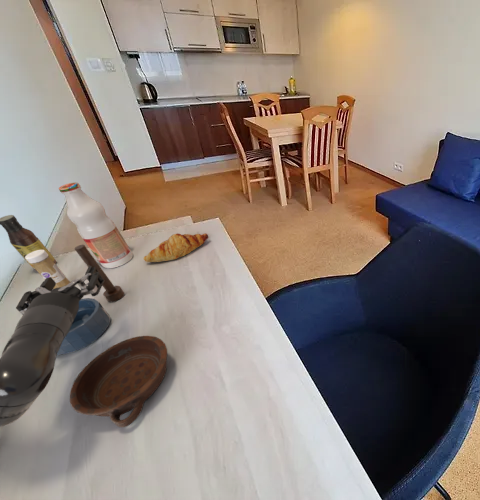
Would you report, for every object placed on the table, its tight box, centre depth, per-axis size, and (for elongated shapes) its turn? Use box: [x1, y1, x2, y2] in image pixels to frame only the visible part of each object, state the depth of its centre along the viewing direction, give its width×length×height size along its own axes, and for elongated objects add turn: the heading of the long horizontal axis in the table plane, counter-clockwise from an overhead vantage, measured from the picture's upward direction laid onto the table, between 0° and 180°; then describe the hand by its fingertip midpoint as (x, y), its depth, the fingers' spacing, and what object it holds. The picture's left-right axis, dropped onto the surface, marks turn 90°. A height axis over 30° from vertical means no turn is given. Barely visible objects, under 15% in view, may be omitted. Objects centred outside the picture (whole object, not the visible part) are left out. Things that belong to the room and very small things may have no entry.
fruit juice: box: [58, 181, 134, 269], centre depth 97 cm, size 9×9×28 cm
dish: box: [69, 335, 168, 428], centre depth 63 cm, size 18×22×5 cm
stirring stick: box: [74, 244, 126, 303], centre depth 84 cm, size 4×4×18 cm
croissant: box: [143, 232, 209, 263], centre depth 104 cm, size 21×10×8 cm, turn 125°
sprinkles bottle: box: [24, 250, 72, 289], centre depth 91 cm, size 5×5×13 cm
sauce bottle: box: [0, 214, 57, 271], centre depth 100 cm, size 6×6×20 cm
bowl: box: [56, 297, 111, 356], centre depth 76 cm, size 14×14×6 cm
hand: (72, 274), depth 72 cm, fingers open, 8 cm apart
